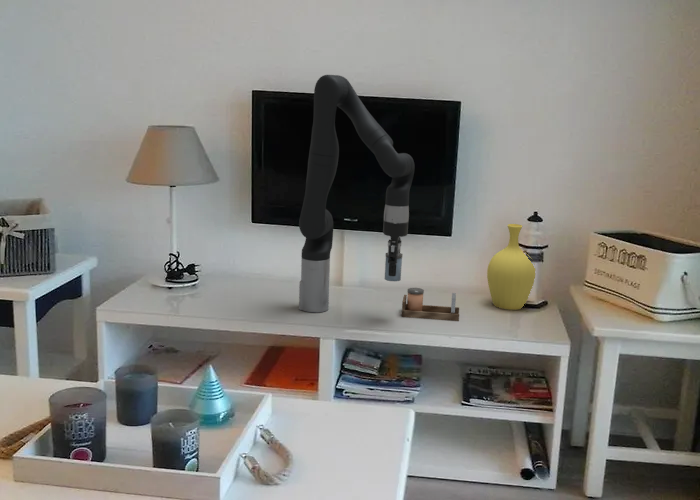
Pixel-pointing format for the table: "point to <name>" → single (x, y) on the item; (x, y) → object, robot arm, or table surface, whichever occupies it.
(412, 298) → the jar
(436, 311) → the wooden tray
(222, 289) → the table surface
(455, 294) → the paddle
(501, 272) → the vase
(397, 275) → the jar
